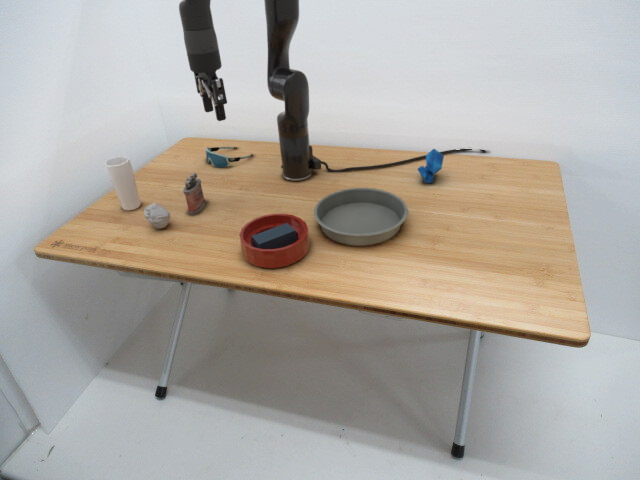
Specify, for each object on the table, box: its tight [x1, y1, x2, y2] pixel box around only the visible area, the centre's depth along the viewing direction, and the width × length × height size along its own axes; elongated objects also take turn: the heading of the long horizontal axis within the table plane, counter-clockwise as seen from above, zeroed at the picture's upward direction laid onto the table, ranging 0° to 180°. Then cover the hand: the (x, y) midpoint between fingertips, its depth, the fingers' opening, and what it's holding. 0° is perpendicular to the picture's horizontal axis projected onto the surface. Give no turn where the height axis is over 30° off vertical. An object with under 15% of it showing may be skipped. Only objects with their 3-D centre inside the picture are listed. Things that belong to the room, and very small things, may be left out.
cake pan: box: [313, 187, 409, 247], centre depth 123 cm, size 25×25×4 cm
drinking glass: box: [104, 155, 142, 212], centre depth 136 cm, size 7×7×15 cm
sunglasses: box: [205, 146, 254, 168], centre depth 164 cm, size 14×15×5 cm
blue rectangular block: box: [251, 223, 297, 249], centre depth 115 cm, size 10×4×4 cm, turn 122°
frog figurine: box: [143, 202, 171, 230], centre depth 127 cm, size 6×7×7 cm
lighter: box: [182, 172, 206, 216], centre depth 134 cm, size 8×3×10 cm, turn 168°
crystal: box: [417, 148, 445, 184], centre depth 141 cm, size 7×9×12 cm
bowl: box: [239, 213, 310, 269], centre depth 115 cm, size 17×17×6 cm
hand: (215, 115), depth 119 cm, fingers open, 8 cm apart
